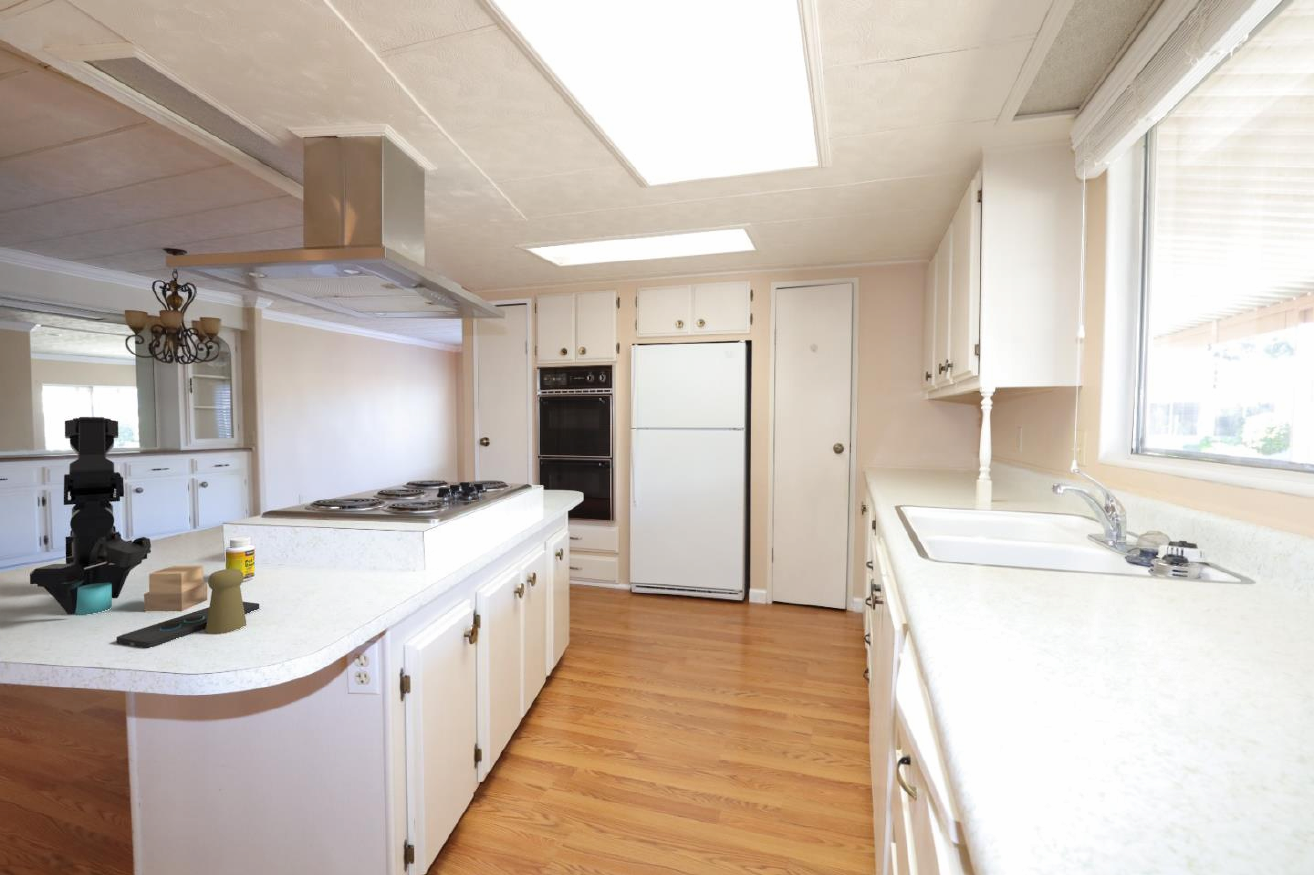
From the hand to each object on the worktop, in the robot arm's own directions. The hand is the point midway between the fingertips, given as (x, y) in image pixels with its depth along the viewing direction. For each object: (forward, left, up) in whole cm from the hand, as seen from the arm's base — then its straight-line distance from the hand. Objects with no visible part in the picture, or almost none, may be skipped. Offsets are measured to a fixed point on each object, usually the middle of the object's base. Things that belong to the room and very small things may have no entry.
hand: (94, 605), depth 107 cm
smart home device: (+9, +25, -2) cm, 27 cm away
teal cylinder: (0, 0, -1) cm, 1 cm away
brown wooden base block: (-2, +14, -1) cm, 14 cm away
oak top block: (-2, +14, +3) cm, 14 cm away
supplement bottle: (-20, +15, -1) cm, 25 cm away
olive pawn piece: (+11, +32, -1) cm, 34 cm away
